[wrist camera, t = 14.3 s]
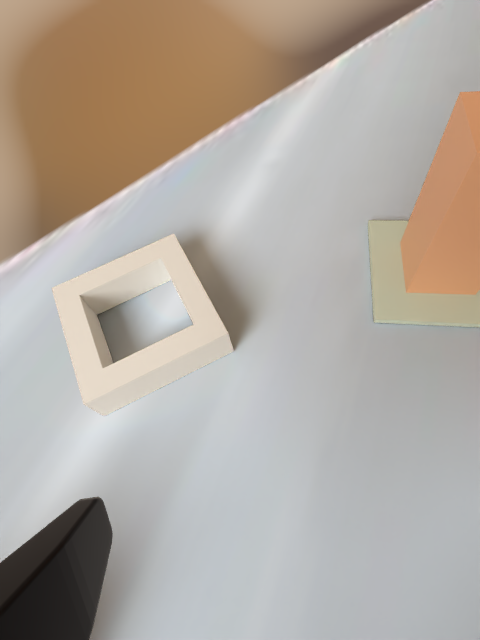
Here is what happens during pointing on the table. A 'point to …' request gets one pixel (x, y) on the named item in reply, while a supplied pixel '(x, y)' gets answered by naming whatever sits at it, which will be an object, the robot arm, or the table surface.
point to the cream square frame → (153, 361)
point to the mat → (391, 290)
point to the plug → (448, 211)
